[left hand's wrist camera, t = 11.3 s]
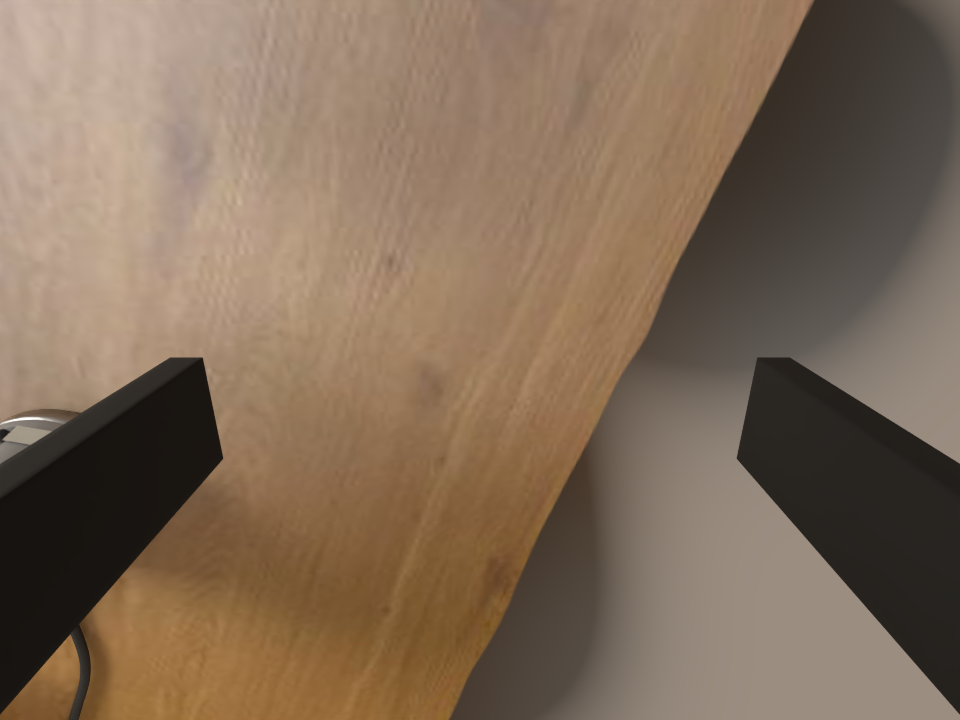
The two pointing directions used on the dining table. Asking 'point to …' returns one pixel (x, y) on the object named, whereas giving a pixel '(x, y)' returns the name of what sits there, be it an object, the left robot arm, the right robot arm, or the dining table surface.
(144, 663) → the dining table surface
